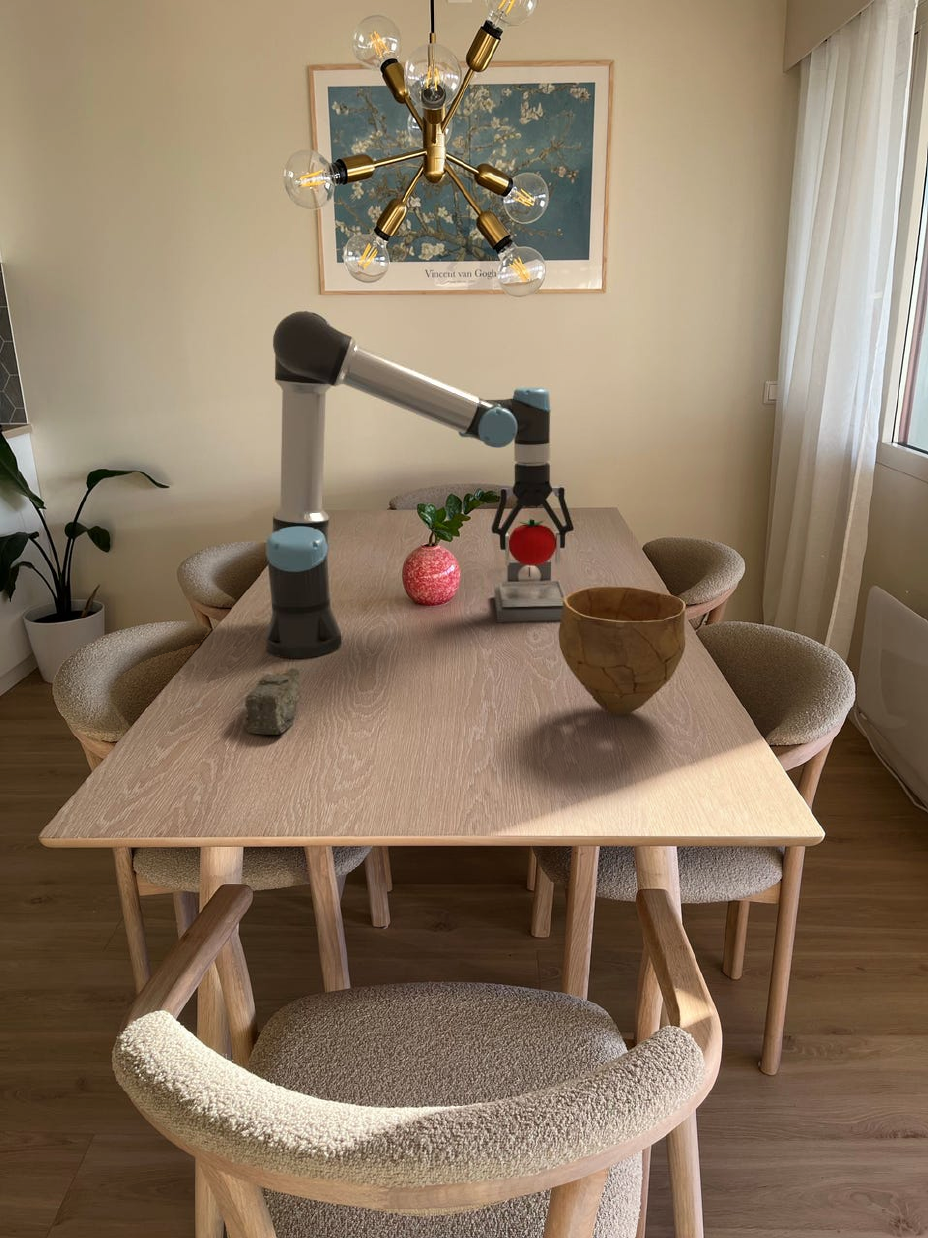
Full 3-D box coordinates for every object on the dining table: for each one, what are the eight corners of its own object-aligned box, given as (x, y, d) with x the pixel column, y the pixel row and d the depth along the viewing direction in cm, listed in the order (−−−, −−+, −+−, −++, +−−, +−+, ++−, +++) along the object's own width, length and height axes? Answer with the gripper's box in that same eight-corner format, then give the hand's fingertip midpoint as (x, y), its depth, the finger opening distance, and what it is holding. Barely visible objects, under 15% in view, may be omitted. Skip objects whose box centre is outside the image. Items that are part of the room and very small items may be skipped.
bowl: (554, 690, 166) (555, 582, 160) (669, 689, 165) (674, 580, 159) (562, 742, 146) (563, 621, 140) (692, 741, 146) (700, 620, 139)
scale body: (571, 619, 202) (572, 580, 199) (497, 621, 202) (497, 581, 199) (562, 595, 219) (562, 558, 216) (494, 596, 219) (493, 559, 216)
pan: (566, 608, 202) (567, 598, 201) (502, 609, 202) (502, 599, 201) (559, 589, 215) (559, 580, 214) (499, 590, 215) (499, 581, 214)
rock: (241, 677, 163) (296, 659, 163) (255, 712, 165) (309, 693, 166) (233, 715, 147) (294, 694, 147) (249, 752, 149) (308, 731, 149)
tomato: (549, 572, 200) (549, 526, 196) (502, 569, 203) (501, 524, 200) (561, 560, 209) (561, 516, 206) (516, 557, 212) (516, 513, 209)
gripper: (583, 458, 202) (582, 557, 209) (477, 461, 202) (480, 560, 209) (588, 463, 195) (586, 566, 202) (478, 467, 195) (480, 569, 202)
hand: (532, 563), depth 206 cm, fingers closed on tomato, 10 cm apart
